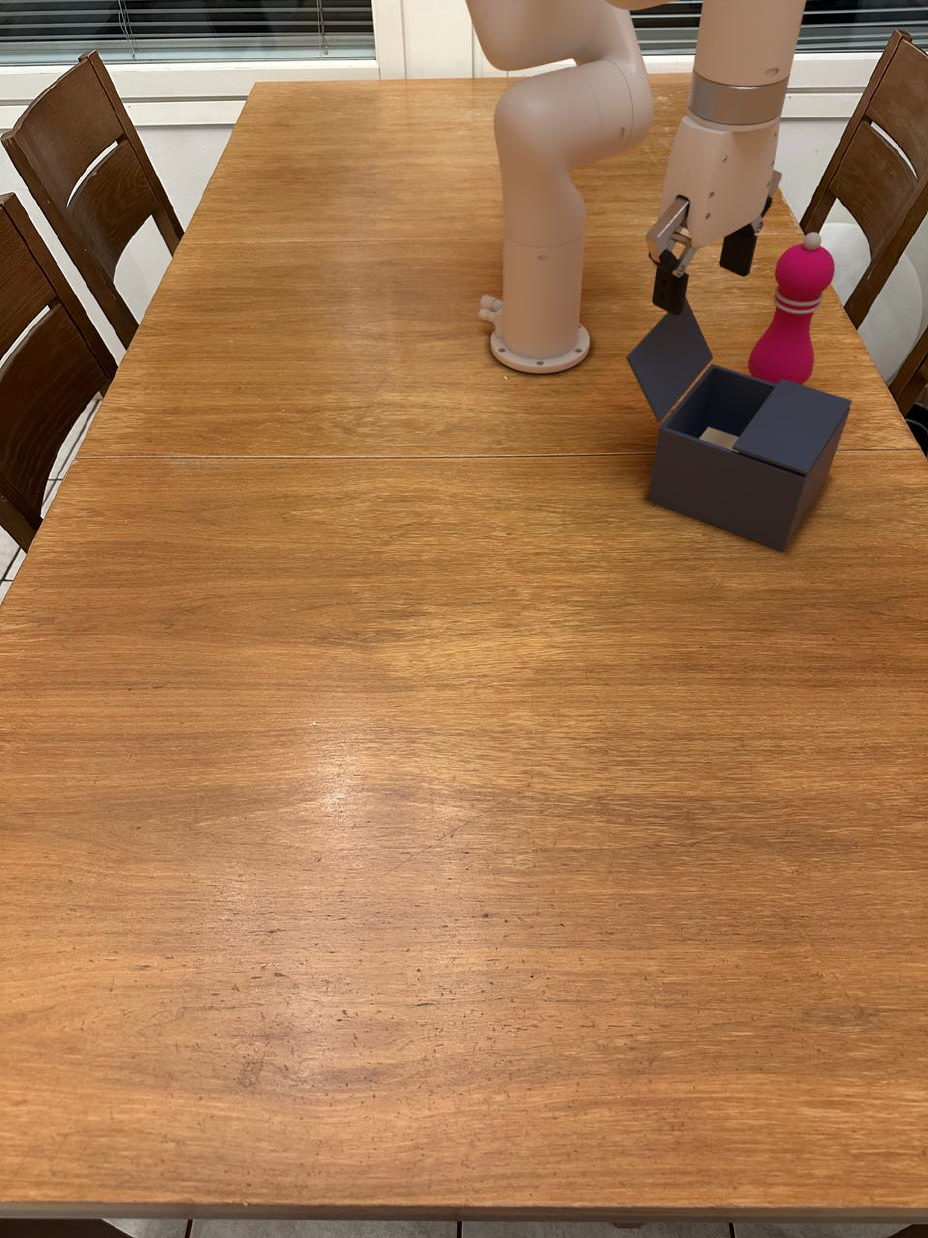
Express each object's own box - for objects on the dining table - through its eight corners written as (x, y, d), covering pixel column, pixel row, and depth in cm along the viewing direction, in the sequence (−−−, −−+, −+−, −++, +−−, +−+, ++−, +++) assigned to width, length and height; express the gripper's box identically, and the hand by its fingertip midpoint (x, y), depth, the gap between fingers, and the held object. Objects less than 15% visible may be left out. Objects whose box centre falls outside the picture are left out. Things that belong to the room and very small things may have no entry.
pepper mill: (804, 416, 110) (853, 252, 95) (740, 410, 111) (778, 247, 96) (802, 381, 114) (848, 219, 99) (741, 375, 115) (777, 214, 100)
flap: (660, 421, 93) (657, 422, 93) (713, 357, 100) (710, 358, 100) (628, 356, 90) (625, 357, 90) (685, 294, 97) (681, 296, 97)
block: (685, 481, 102) (691, 448, 99) (701, 458, 104) (708, 426, 101) (723, 495, 100) (731, 462, 97) (739, 472, 103) (747, 439, 99)
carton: (647, 500, 101) (659, 421, 93) (697, 435, 108) (712, 356, 100) (782, 551, 95) (807, 472, 87) (826, 479, 102) (853, 400, 94)
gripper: (764, 53, 81) (726, 243, 94) (629, 111, 74) (608, 308, 87) (839, 77, 78) (789, 271, 91) (704, 140, 70) (671, 342, 83)
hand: (700, 289), depth 89 cm, fingers open, 9 cm apart
